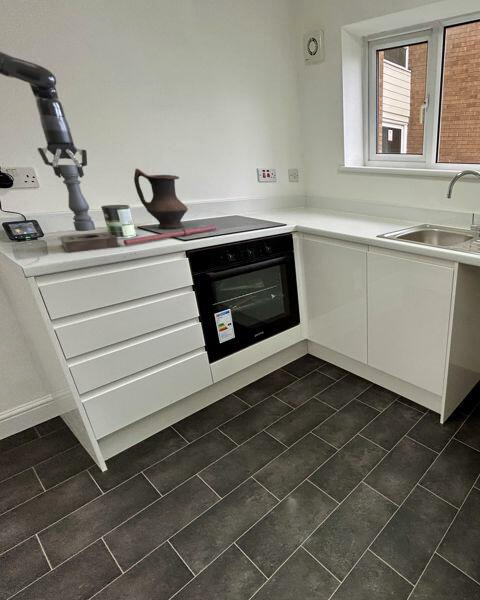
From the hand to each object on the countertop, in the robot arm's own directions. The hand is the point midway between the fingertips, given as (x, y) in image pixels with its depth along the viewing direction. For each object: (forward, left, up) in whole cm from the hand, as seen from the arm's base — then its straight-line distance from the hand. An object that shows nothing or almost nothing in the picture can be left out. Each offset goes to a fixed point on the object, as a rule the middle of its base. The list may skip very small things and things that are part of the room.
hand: (70, 177), depth 136 cm
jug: (+37, +29, -28) cm, 55 cm away
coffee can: (+14, +15, -28) cm, 34 cm away
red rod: (+31, -1, -28) cm, 42 cm away
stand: (0, 0, -27) cm, 27 cm away
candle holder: (0, 0, -21) cm, 21 cm away
